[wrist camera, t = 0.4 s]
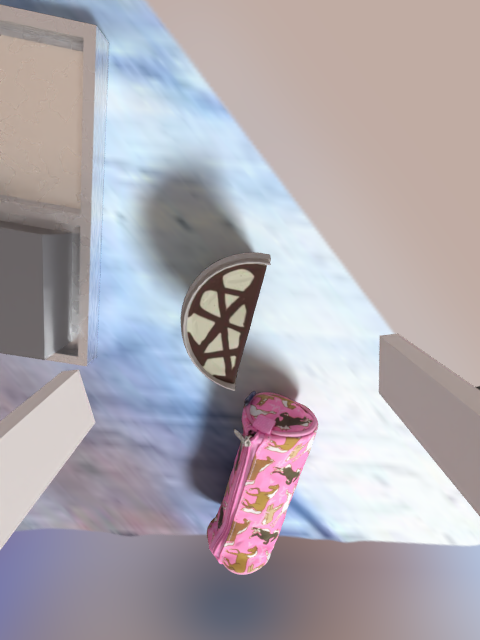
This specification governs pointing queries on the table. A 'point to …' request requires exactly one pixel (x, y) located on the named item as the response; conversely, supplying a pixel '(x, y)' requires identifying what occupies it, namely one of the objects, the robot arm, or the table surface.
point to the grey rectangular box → (35, 290)
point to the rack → (56, 147)
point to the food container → (222, 314)
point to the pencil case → (261, 480)
